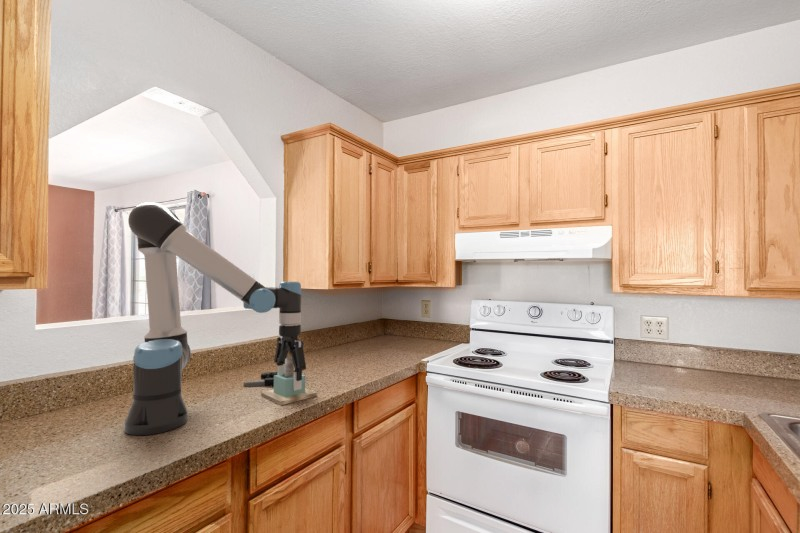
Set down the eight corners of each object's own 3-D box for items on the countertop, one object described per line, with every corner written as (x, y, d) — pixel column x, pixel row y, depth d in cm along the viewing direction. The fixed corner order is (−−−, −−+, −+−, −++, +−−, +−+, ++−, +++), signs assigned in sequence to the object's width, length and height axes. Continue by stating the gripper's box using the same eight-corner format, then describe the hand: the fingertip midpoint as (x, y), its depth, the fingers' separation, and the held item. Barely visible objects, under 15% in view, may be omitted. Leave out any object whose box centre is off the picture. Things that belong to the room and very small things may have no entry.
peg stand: (280, 405, 124) (281, 365, 125) (261, 395, 134) (261, 358, 134) (316, 395, 134) (317, 358, 135) (296, 387, 144) (296, 353, 144)
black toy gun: (239, 385, 139) (283, 381, 141) (253, 371, 159) (291, 368, 161) (239, 394, 139) (284, 390, 141) (253, 379, 159) (292, 376, 161)
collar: (284, 397, 129) (285, 379, 129) (273, 392, 134) (273, 375, 134) (305, 392, 134) (305, 375, 135) (293, 387, 140) (293, 371, 140)
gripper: (317, 326, 129) (316, 391, 129) (283, 320, 145) (282, 378, 145) (297, 328, 124) (296, 395, 123) (265, 322, 140) (264, 381, 139)
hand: (289, 386), depth 134 cm, fingers open, 10 cm apart
